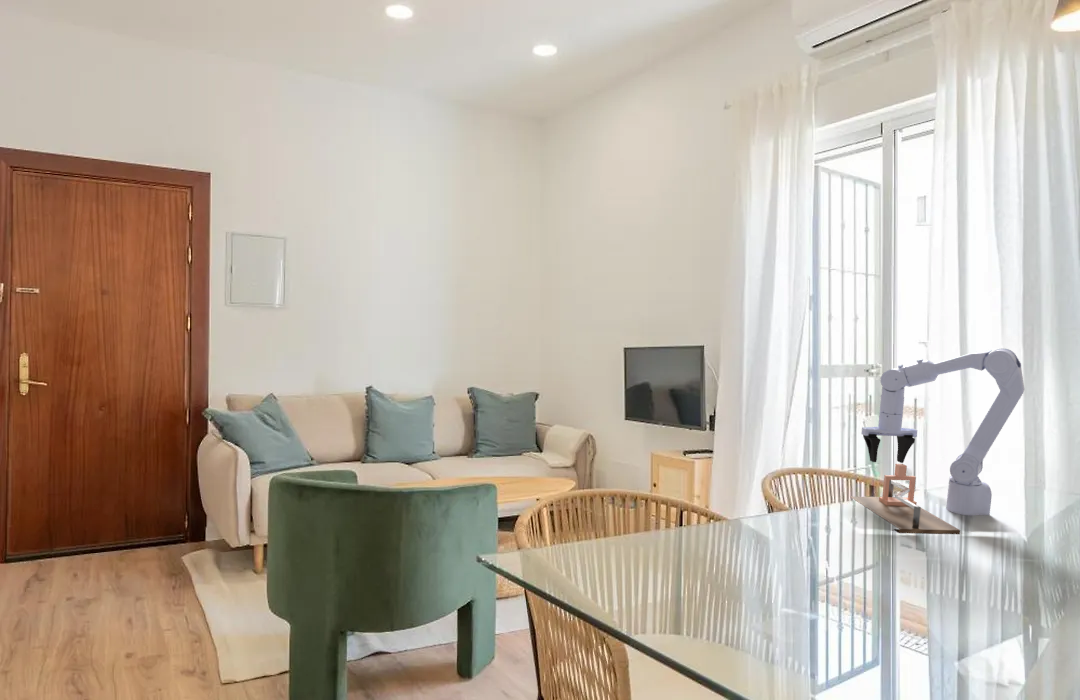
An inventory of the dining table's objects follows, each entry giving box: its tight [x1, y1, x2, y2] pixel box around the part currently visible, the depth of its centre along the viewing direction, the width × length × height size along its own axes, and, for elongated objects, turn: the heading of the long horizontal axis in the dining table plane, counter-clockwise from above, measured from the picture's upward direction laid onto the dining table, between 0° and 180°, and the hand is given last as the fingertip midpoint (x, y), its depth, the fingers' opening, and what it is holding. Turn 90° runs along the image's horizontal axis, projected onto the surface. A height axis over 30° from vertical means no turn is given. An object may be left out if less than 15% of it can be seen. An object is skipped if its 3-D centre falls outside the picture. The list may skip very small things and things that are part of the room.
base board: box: [850, 496, 961, 535], centre depth 190 cm, size 15×25×1 cm, turn 4°
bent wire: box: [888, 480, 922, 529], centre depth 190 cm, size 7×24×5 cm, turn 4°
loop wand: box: [878, 463, 918, 506], centre depth 197 cm, size 8×4×10 cm, turn 93°
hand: (886, 461), depth 204 cm, fingers open, 7 cm apart
